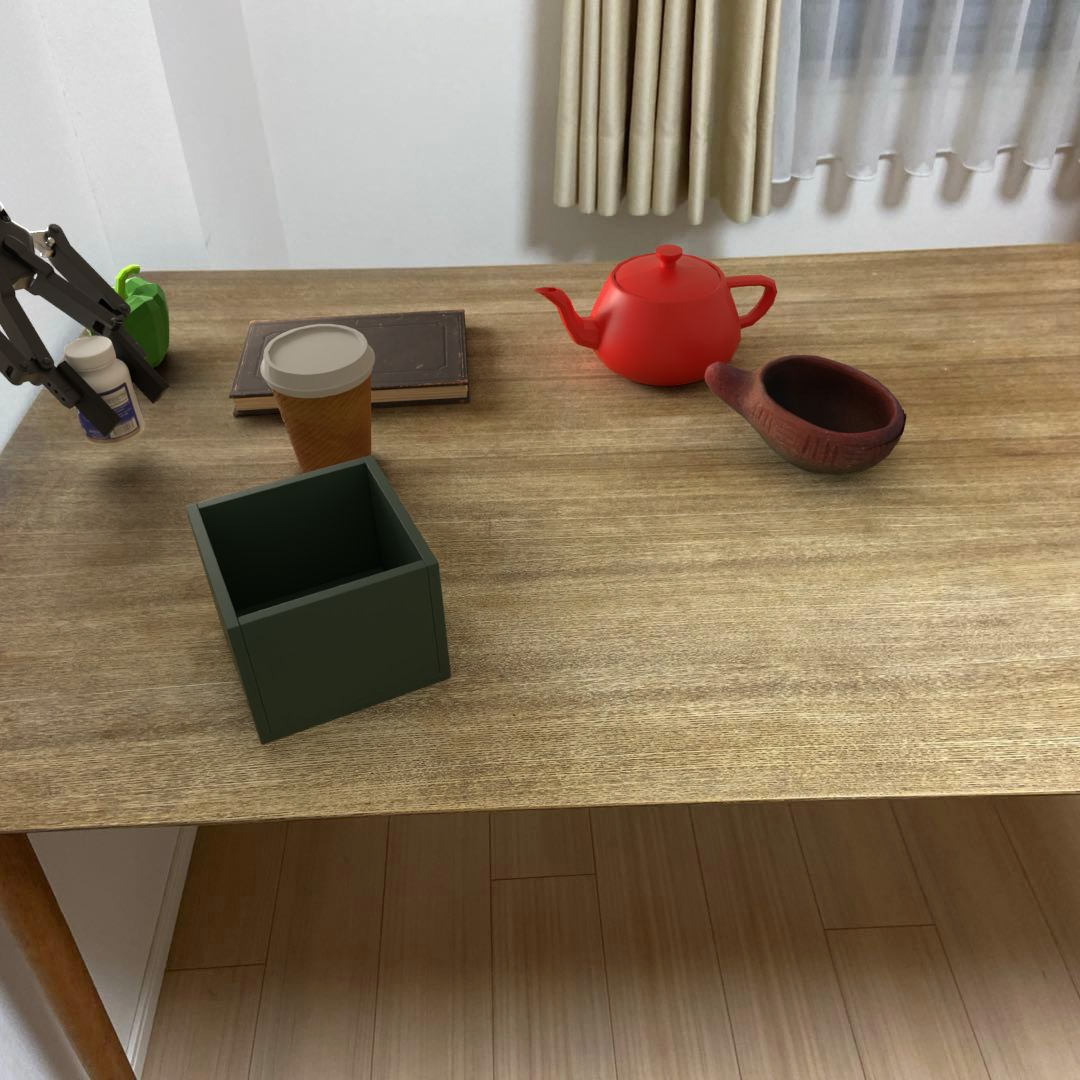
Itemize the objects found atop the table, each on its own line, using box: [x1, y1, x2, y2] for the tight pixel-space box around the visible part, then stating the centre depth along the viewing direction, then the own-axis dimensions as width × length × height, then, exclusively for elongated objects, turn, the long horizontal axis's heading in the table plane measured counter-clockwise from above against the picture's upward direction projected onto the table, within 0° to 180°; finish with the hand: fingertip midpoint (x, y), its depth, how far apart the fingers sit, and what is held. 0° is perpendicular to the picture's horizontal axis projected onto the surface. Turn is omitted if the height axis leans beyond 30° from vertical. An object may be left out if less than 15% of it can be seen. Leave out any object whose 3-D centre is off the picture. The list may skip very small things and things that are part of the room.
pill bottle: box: [63, 335, 146, 448], centre depth 90 cm, size 5×5×9 cm
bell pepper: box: [85, 264, 170, 369], centre depth 105 cm, size 8×8×10 cm
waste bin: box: [184, 454, 452, 745], centre depth 71 cm, size 14×14×11 cm
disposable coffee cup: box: [261, 324, 375, 474], centre depth 89 cm, size 10×10×12 cm
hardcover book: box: [228, 308, 471, 417], centre depth 105 cm, size 16×23×2 cm
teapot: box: [533, 243, 778, 387], centre depth 102 cm, size 25×16×12 cm, turn 101°
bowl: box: [704, 354, 907, 476], centre depth 89 cm, size 16×13×8 cm
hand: (137, 410), depth 90 cm, fingers closed on pill bottle, 5 cm apart
